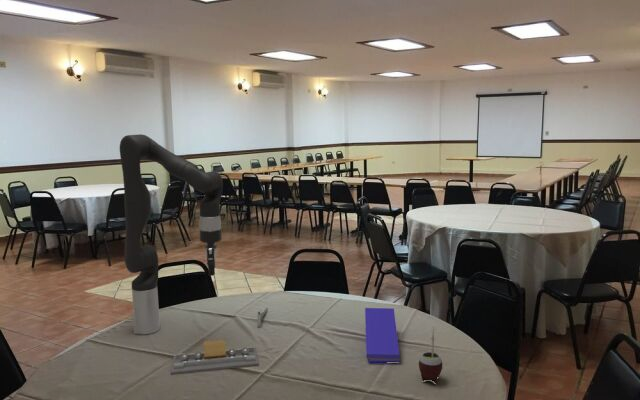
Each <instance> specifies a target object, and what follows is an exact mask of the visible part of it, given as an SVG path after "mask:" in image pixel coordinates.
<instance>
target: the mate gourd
mask: <svg viewBox="0 0 640 400" xmlns="http://www.w3.org/2000/svg"><path fill="white" fill-rule="evenodd" d="M434 331H435V327H434V326H432V328H431V339H430V340H431V352H429V351H428V352H423V353H422V354H421V356H420V357H419V361H418V368H419V372H420V376H421V381H422V380H423V381H424V380H432V381H434V382H435V383H437V380H438V379H437V377H440V375H441V373H442V370H443V361H442V359H441V356H440V355H439V354H438V353H435V352H434V349H435V348H434V345H435V344H434V343H435V342H434V341H435V334H434V333H435V332H434Z"/></svg>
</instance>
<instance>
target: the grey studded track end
mask: <svg viewBox="0 0 640 400" xmlns="http://www.w3.org/2000/svg"><path fill="white" fill-rule="evenodd" d="M254 348H255V347H254V346H246V347H243V348H229V349H226V355H228V357H222V358H215V364H216V363H226V362H236V361H246V362H247V361H255V355H253V356H249V352H254ZM236 354H242V356H236Z"/></svg>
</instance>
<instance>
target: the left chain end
mask: <svg viewBox="0 0 640 400" xmlns="http://www.w3.org/2000/svg"><path fill="white" fill-rule="evenodd" d="M175 356H176V359H181V363H174V369H178V368H184V367H187V366H197V365H207V364H215V358H212V359H202V358H204V351H197V352H193V353H184V352H183V353H176V354H175ZM194 358H195V360H192V361H188V359H194Z"/></svg>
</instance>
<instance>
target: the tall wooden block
mask: <svg viewBox="0 0 640 400" xmlns="http://www.w3.org/2000/svg"><path fill="white" fill-rule="evenodd" d="M226 350H227V347H226V339H219V340H218V339H217V340H207V341H203V352H204V359H212V358H222V357H226Z"/></svg>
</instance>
